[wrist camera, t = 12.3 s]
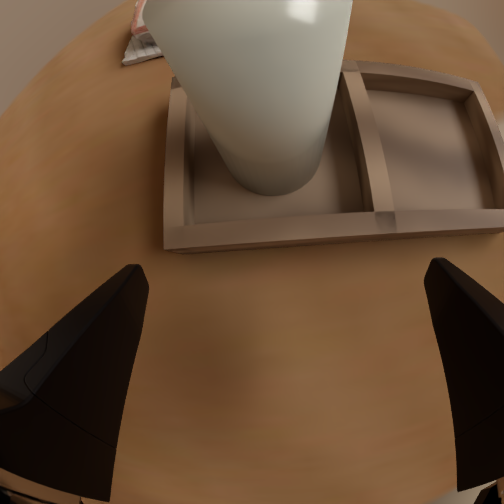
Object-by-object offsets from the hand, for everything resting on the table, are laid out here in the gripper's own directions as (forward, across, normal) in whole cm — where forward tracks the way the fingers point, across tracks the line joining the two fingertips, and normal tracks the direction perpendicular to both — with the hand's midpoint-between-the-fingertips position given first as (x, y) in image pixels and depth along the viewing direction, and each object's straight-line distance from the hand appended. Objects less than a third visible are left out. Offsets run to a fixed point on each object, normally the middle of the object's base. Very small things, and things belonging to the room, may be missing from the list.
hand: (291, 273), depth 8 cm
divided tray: (+12, -5, 0) cm, 13 cm away
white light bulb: (+11, 0, 0) cm, 11 cm away
